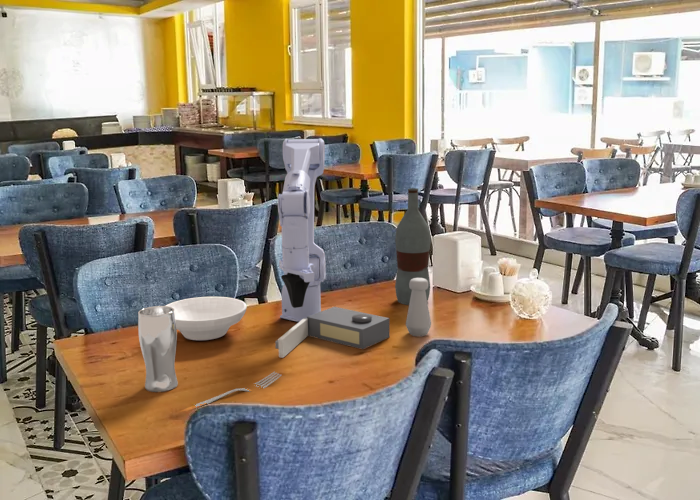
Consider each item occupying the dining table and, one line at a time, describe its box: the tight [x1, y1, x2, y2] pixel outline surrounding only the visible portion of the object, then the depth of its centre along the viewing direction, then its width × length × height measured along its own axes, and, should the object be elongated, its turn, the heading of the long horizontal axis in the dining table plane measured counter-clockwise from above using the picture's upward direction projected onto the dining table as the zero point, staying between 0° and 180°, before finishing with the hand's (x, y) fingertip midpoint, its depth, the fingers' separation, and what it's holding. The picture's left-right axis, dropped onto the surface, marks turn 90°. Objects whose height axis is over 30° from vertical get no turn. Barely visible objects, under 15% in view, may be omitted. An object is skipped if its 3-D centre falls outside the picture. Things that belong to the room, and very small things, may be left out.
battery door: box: [274, 318, 309, 359], centre depth 162 cm, size 16×2×4 cm, turn 163°
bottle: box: [394, 187, 431, 306], centre depth 194 cm, size 9×9×30 cm
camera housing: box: [307, 306, 390, 350], centre depth 168 cm, size 16×10×5 cm, turn 52°
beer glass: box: [137, 305, 179, 393], centre depth 140 cm, size 7×7×15 cm
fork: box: [194, 371, 282, 407], centre depth 136 cm, size 3×24×2 cm, turn 132°
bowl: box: [165, 296, 247, 341], centre depth 170 cm, size 20×20×7 cm
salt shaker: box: [405, 278, 432, 337], centre depth 169 cm, size 6×6×13 cm
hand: (297, 306), depth 163 cm, fingers closed
